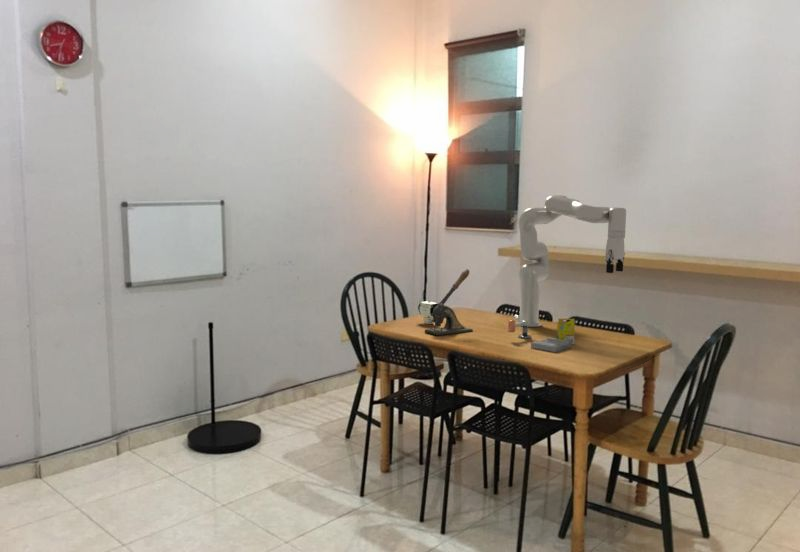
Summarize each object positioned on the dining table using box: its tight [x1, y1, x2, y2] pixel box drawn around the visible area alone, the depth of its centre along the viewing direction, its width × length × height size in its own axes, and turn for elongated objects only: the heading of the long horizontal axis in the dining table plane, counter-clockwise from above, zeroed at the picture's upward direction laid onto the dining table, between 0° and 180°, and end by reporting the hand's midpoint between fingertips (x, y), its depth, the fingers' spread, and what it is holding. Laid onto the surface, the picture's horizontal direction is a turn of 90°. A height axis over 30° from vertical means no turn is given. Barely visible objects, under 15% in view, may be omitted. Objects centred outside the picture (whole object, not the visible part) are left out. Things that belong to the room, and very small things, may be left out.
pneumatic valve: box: [417, 300, 439, 325], centre depth 335 cm, size 6×12×12 cm, turn 42°
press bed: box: [530, 337, 572, 354], centre depth 284 cm, size 12×13×3 cm
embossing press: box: [424, 268, 474, 336], centre depth 314 cm, size 11×24×30 cm, turn 123°
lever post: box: [517, 326, 532, 340], centre depth 305 cm, size 6×6×6 cm
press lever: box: [507, 319, 530, 333], centre depth 300 cm, size 4×15×5 cm, turn 136°
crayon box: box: [556, 318, 576, 345], centre depth 292 cm, size 7×3×12 cm, turn 89°
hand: (614, 272), depth 301 cm, fingers open, 9 cm apart
